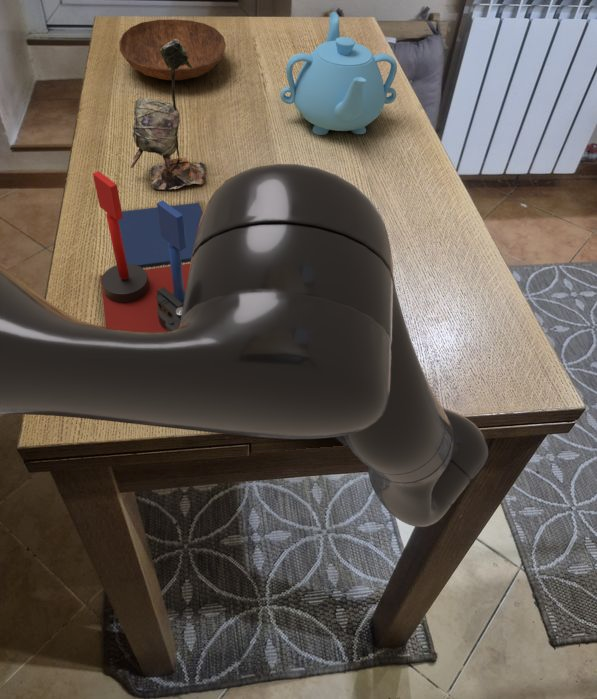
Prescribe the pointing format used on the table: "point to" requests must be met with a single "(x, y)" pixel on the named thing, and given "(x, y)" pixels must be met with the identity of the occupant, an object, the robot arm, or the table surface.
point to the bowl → (151, 36)
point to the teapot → (339, 84)
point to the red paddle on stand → (118, 249)
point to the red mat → (142, 304)
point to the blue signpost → (172, 249)
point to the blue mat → (155, 235)
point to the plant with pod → (165, 131)
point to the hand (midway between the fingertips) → (191, 276)
